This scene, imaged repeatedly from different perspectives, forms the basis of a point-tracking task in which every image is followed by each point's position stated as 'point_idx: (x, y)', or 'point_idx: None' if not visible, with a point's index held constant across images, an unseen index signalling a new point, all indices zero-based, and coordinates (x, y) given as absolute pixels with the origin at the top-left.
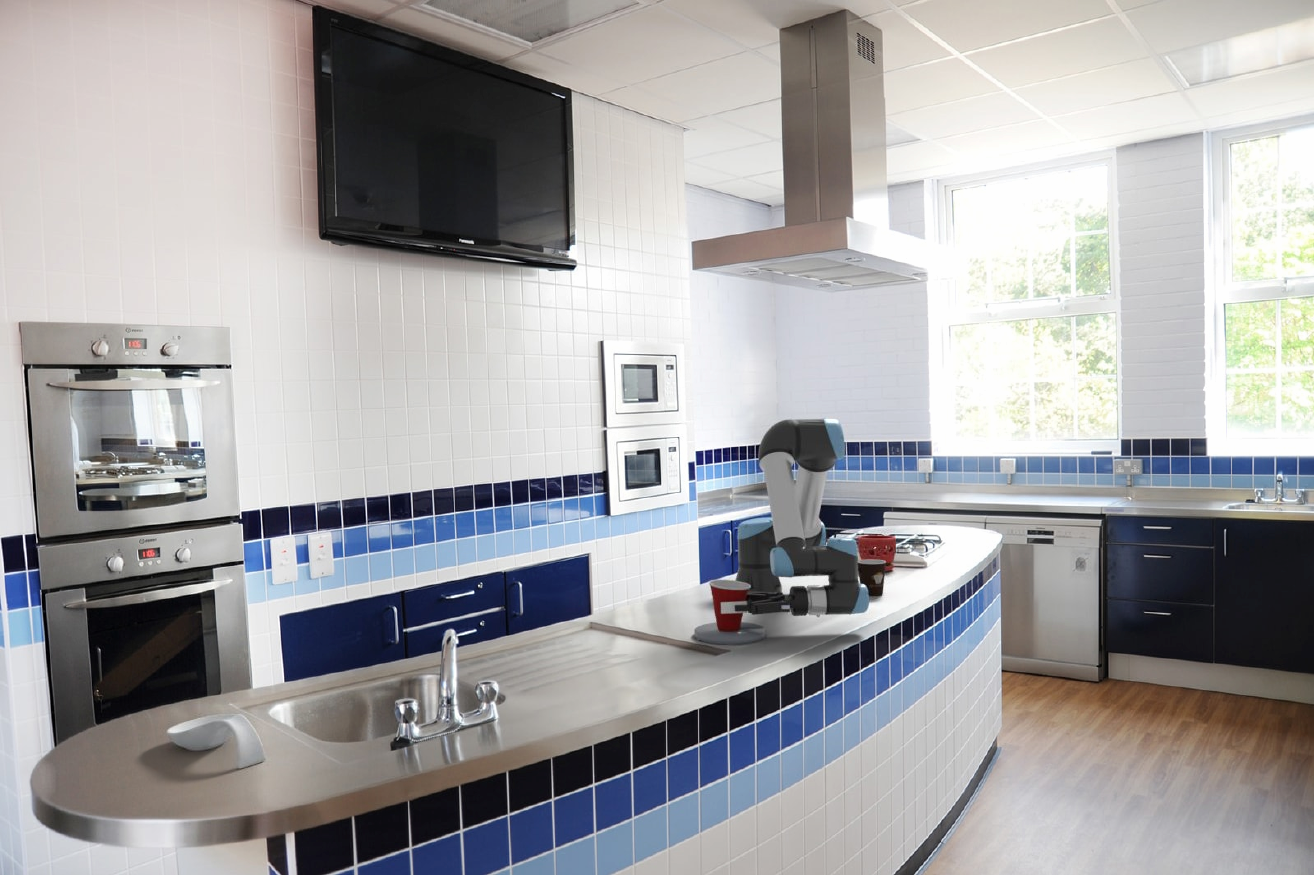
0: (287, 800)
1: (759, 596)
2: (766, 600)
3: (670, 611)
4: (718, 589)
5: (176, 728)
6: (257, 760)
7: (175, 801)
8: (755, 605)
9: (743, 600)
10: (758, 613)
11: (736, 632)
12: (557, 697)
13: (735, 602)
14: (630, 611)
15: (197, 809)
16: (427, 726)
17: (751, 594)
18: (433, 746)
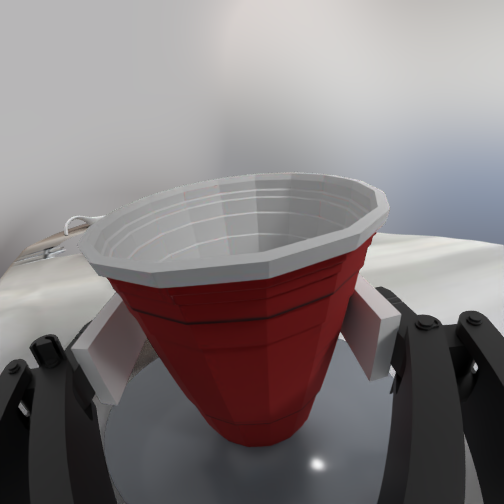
0: (30, 247)
1: (403, 462)
2: (43, 487)
3: (472, 271)
4: (158, 213)
5: (103, 216)
6: (65, 234)
7: (52, 236)
8: (4, 375)
9: (162, 347)
10: (27, 427)
11: (197, 433)
12: (52, 268)
13: (103, 309)
14: (434, 246)
15: (42, 240)
16: (60, 247)
17: (410, 376)
18: (35, 254)
